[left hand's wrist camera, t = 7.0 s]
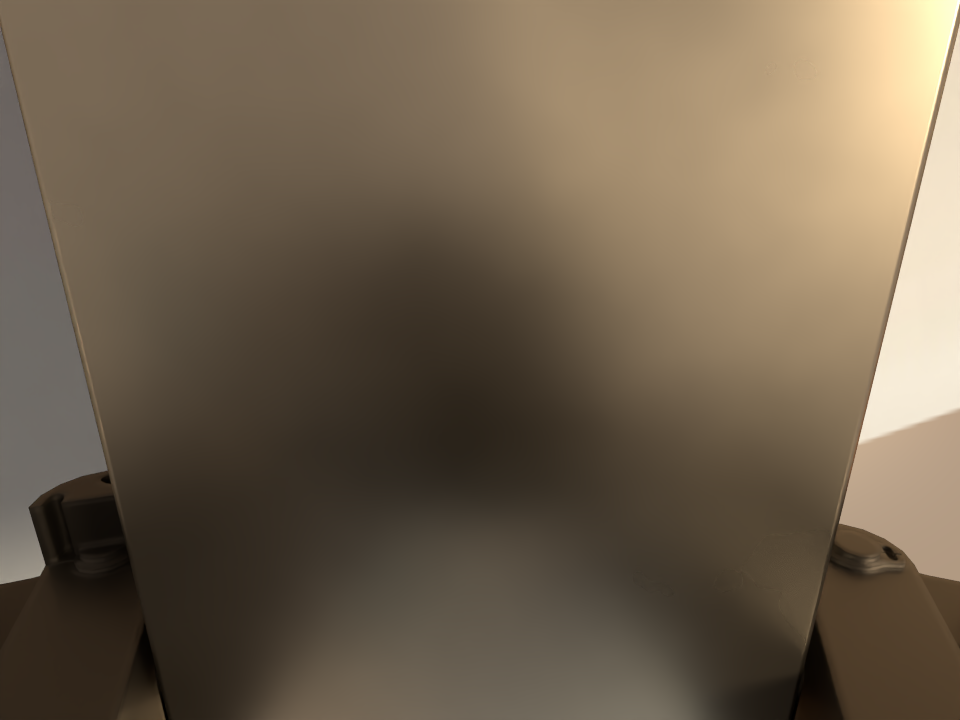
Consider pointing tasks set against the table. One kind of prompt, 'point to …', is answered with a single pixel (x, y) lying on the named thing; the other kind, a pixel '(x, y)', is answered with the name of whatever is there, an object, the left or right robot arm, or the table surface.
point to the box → (479, 333)
